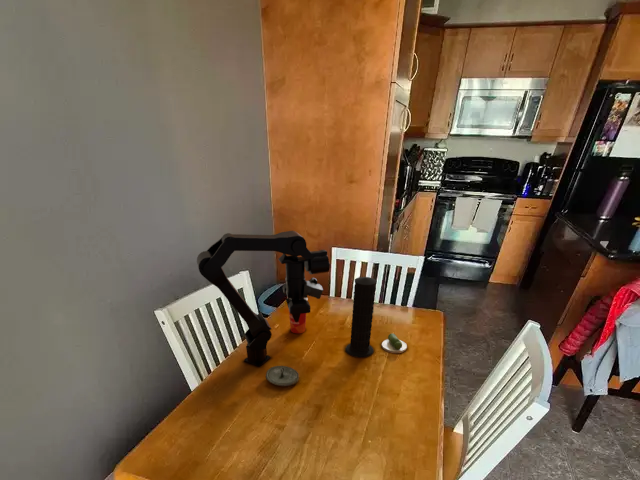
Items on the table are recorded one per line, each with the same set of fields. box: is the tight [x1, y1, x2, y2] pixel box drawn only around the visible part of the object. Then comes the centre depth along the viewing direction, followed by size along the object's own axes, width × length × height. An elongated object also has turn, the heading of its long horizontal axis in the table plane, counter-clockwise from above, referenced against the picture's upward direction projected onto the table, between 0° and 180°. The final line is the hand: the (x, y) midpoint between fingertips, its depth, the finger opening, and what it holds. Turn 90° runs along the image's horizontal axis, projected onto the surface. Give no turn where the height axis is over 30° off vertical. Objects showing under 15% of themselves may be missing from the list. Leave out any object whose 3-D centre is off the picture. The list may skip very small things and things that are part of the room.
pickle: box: [381, 332, 408, 354], centre depth 131 cm, size 9×9×4 cm
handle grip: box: [345, 276, 377, 358], centre depth 122 cm, size 10×26×10 cm
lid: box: [265, 365, 300, 387], centre depth 113 cm, size 11×10×5 cm
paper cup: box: [288, 297, 309, 334], centre depth 137 cm, size 8×8×14 cm
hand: (296, 321), depth 121 cm, fingers closed
